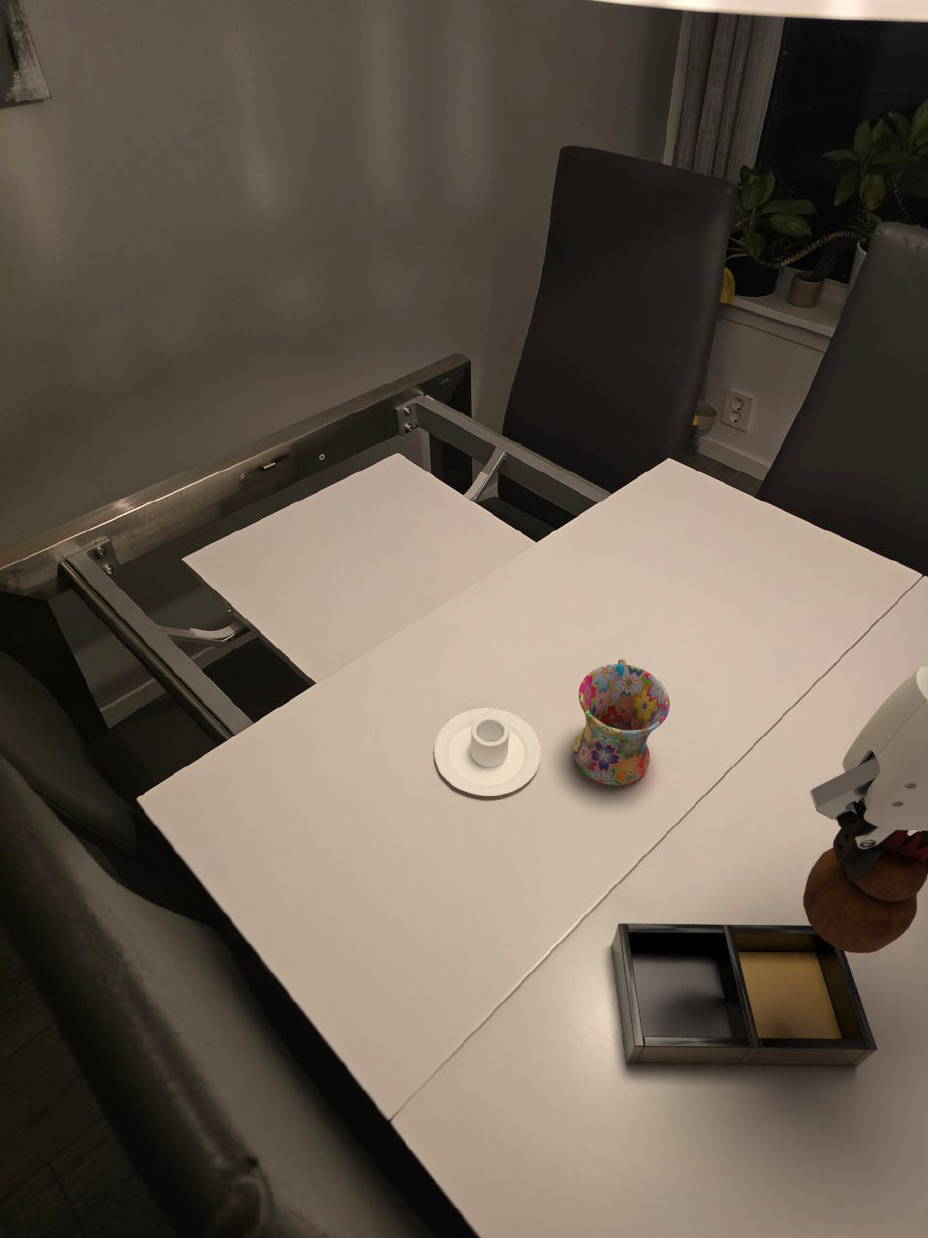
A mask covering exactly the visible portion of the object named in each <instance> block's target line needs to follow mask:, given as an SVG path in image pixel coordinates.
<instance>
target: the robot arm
mask: <svg viewBox="0 0 928 1238" xmlns="http://www.w3.org/2000/svg"><path fill="white" fill-rule="evenodd" d="M841 764H842V768H843V771H844V772H843V773H841V774H838V775H837V776H835V777H833V778H832V779H829V780H827V781H825V782H823V783H821V784H820V785H818V786H816V787H814V788H812V789H811V790H809V794H810V797H811V800H812V803H813V807H814V809H815V811H816V812H817V813H818V814H821V815H823V816H824V817H826V818H828V819H830V820H831V821H832V820H834V821H836V822H837V825H838V827H840V829H839V830H838V832H837V834H836V835H835V837H834V839H833V842H832V848H833V850H834V853H835V856H836V858H837V860H838V862H841V863H843V866H844V869H845V872H846V874H847V877H848V879H849V881H860V879H862V878H863V877H864V876H865V874H866V873H867V872H868V870H869V869H870V868H871V866H872V865H873V864H874V862H875V861H876V860H877V858H878V857H879V856H880V854H881V848H880V845H879V843H880V842H882V841H883V840H884V839H885V838H887V837H888V836H889V835H890V834H892V833H893V832H894V831H895V830H909V831H921V832H922V838H921V841H920V843H923V842H926V841H928V665H926V666H925V665H924V666H921V667H919V668H918V669H917V670H916V671H915V672H913V673H912V674H911V675H910V676H908V677H907V678H906V679H905V680H904V681H903V682H902V683H901V684H900V685H898V687H897V688H896V689H895V690H894V691H892V693H891V694H890V695H889V696H888V697H887V698H886V700H885V701H883V702H882V704H881V705H880V706H879V707H878V709H877V710H875V712H874V713H873V714H872V716H871V717H870V719H869V720H868V721H867V723H866V724H865V725H864V727H863V728H862V729H861V730H860V732H859V733H858V735H857V736H856V737H855V739H854V741H853V742H852V744H851V745H850V747H849V748H848V750H847V751H846V754H845V756H844V757H843V759H842V763H841ZM927 867H928V858H927Z"/></svg>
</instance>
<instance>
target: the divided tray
mask: <svg viewBox="0 0 928 1238" xmlns="http://www.w3.org/2000/svg"><path fill="white" fill-rule="evenodd" d="M610 945H611V952H612V953H611V954H612V961H613V969H614V976H615V985H616V993H617V1000H618V1009H619V1017H620V1026H621V1032H622V1041H623V1049H624V1056H625V1064H626V1065H645V1066H647V1065H654V1066H655V1065H656V1066H725V1067H726V1066H727V1067H728V1066H732V1067H735V1066H737V1067H748V1066H749V1067H815V1068H817V1067H818V1068H857V1067H859V1066H860V1065H861V1064H863V1063H864V1062H865V1061H866V1060H867V1059H868V1058H870V1057H871V1056H872V1055H873V1054H874V1053H875V1052H876V1051H878V1047H877V1044H876V1041H875V1038H874V1035H873V1032H872V1029H871V1025H870V1023H869V1019H868V1017H867V1014H866V1011H865V1009H864V1008H865V1007H864V1005H863V1002H862V999H861V996H860V993H859V991H858V987H857V984H856V981H855V978H854V975H853V973H852V969H851V966H850V964H849V961H848V957H847V955H846V951H844V950H841V949H838V948H836V947H835V946H833V945H831V944H829V943H828V942H826V941H825V940H824V939H823V938H822V937H821V936H820V935H819V934H817V933H816V931H815V930H814V929H813V927H812V926H811V924H808V925H803V924H797V925H796V924H795V925H794V924H724V923H723V924H720V923H719V924H714V923H713V924H711V923H709V924H708V923H707V924H706V923H638V922H637V923H632V922H631V923H630V922H629V923H620V922H619V923H618V924H617V927H616V930H615V934H614V936H613V939H612V942H611V944H610Z"/></svg>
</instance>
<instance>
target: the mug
mask: <svg viewBox="0 0 928 1238" xmlns="http://www.w3.org/2000/svg"><path fill="white" fill-rule="evenodd" d="M578 701H579V704H580V707H581V709H582V711H583V713H584V717H585V725H584V728H582V729H581V730H580V731H579V732H578V734H577V735H576V737H575V739H574V742H573V746H572V751H573V757H574V760H575V762H576V764H577V766H578V767H579V769H580V770H581V771H582V772H583V773H584V774H585V775H586V776H587V777H589V778H591V779H592V780H595V781H596V782H598V783H601V784H605V785H608V786H624V785H628V784H631V783H634V782H636V781H637V780H639V779H640V778H641V777H642V776H644V774H645V773H646V772H647V770H648V768H649V765H650V761H651V754H650V749H649V746H648V744H647V743H648V738H649V737H650V735H651V734H652V732H653V731H654V730H656V729H657V728H659V727H660V726H661V725H662V724H663V723H664V722H665V721H666V719H667V717H668V714H669V712H670V707H671V706H670V705H671V704H670V703H671V701H670V697H669V693H668V690H666V688H665V686H664V684H663V683H662V682H661V680H659V679H658V678H657V677H656V676H654V675H653V674H651V673H650V672H649V671H647V670H645V669H642V668H640V667H637V666H634V665H630V664H627V661H626V659H622V658H621V659H619V660H618V661H617V663H612V664H606V665H601V666H599V667H597V668H595V669H593V670H591V671H590V672H589V673H587V675H586V676H585V677H584V678H583V679H582V681H581V682H580V685H579V688H578Z"/></svg>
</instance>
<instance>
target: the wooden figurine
mask: <svg viewBox="0 0 928 1238" xmlns="http://www.w3.org/2000/svg"><path fill="white" fill-rule="evenodd" d="M909 831H910V830H895V831H894V832H893V833H892V834H890V835H889V836H888V837H887V838H885V839H884V840H883V841H882V842H880V843H879V845H880V848H881V854H880V856H879V857H878V858H877V860H876V861H875V862H874V864H873V865H872V866H871V868H870V869H869V870H868V872H867V873H866V874H865V876H864V877H863V878H862V879H860V881H849V879H848V877H847V874H846V872H845V869H844V866H843V863H841V862H838V860H837V858H836V856H835V853H834V850H833V847H831V848H829V849H827V850H825V851H823V852H822V854H821V855H820V856H819V858H818V859H817V860H816V861H815V863H814V865H813V866H812V867H811V869H810V872H809V874H808V876H807V878H806V879H807V880H806V883H805V888H804V892H803V897H802V906H803V908H804V912H805V915H806V918H807V922H808V923H809V925H811V926H812V927H813V929H814V930H815V931H816V933H817V934H819V935H820V936H821V937H822V938H823V939H824V940H825V941H826V942H828V943H829V944H831V945H833V946H835V947H836V948H838V949H841V950H844V951H845V952H847V953H852V954H871V953H875V952H878V951H880V950H881V949H883V948H885V947H887V946H888V945H890V944H892V943H893V942H894V941H896V940H898V939H899V938H900V937H901V936H902V935H904V933H906V932H907V930H908V929H909V928H910V927H911V924H912V923H913V921H914V920H915V918H916V915H917V911H918V893H919V892H920V891H921V890H922V888H923V887H924V884H925V883H926V881H927V879H928V867H927V858H928V841H926V842H923V843H920V841H921V838H922V832H921V831H920V830H916V831H915V832H913V833H912V834H910V835H909V834H908V833H909Z"/></svg>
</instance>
